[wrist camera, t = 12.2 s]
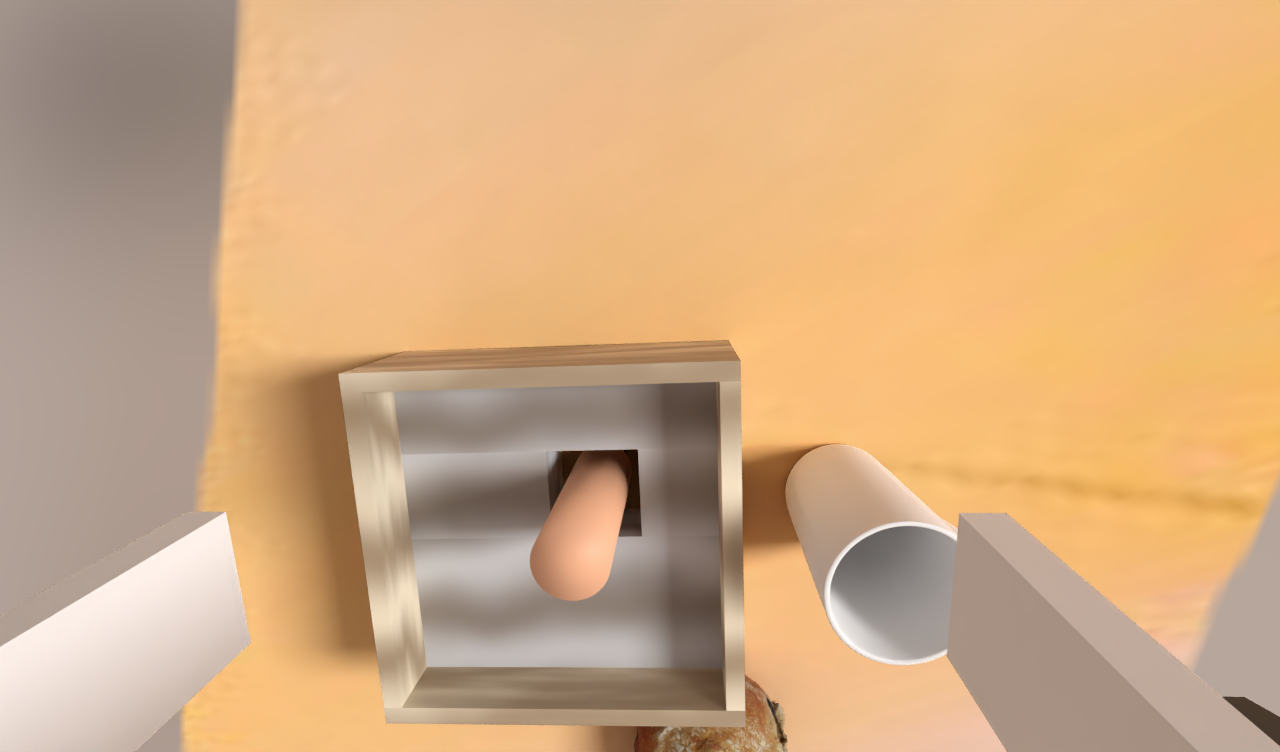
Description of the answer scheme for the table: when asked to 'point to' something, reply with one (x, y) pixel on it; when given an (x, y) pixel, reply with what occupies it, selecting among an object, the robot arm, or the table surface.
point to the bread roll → (723, 731)
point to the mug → (873, 555)
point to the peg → (583, 527)
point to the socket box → (514, 515)
